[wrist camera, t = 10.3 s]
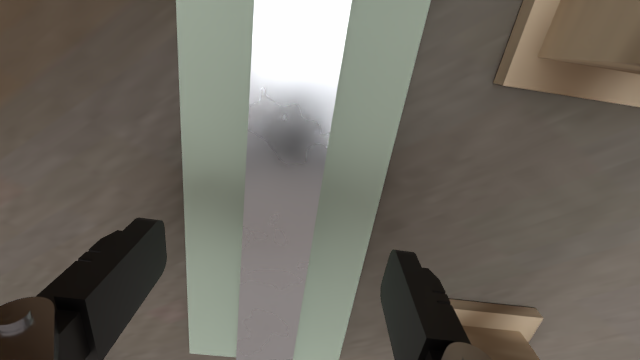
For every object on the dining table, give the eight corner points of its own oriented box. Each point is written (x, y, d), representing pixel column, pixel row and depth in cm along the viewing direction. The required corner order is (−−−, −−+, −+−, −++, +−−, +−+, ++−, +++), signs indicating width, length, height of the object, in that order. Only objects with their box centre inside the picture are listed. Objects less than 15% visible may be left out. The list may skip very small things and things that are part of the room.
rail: (368, -145, 10) (386, -214, 8) (288, 362, 21) (284, 410, 18) (280, -164, 10) (266, -240, 7) (244, 358, 21) (233, 406, 18)
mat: (455, -117, 11) (462, -125, 11) (336, 358, 22) (336, 366, 21) (176, -174, 10) (168, -186, 10) (192, 345, 21) (189, 353, 20)
